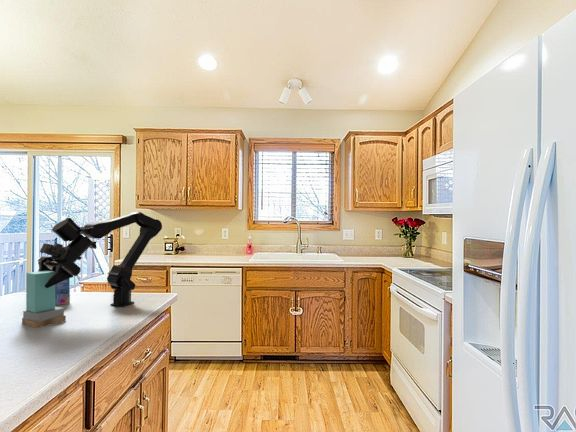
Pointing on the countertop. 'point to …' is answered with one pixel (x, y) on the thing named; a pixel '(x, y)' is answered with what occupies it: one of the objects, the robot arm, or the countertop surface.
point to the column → (39, 291)
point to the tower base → (43, 322)
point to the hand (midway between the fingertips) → (38, 285)
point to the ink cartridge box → (62, 292)
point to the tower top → (43, 314)
